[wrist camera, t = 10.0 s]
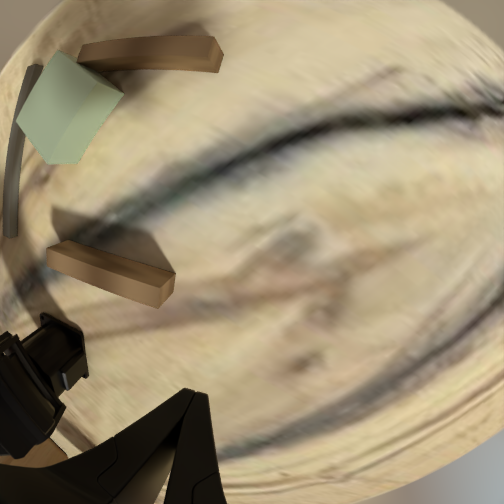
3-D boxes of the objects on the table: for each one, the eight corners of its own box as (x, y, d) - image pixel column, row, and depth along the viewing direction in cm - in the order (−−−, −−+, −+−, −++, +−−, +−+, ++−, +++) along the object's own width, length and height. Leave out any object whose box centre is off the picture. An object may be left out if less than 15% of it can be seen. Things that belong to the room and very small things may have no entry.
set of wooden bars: (10, 232, 22) (-9, 238, 19) (35, 68, 17) (16, 63, 14) (173, 292, 21) (157, 308, 18) (223, 54, 16) (214, 36, 13)
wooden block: (53, 454, 37) (15, 507, 18) (23, 423, 35) (-21, 474, 16) (71, 457, 35) (30, 519, 15) (37, 423, 33) (-13, 483, 14)
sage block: (44, 123, 19) (15, 120, 15) (84, 61, 17) (57, 49, 13) (79, 163, 19) (47, 164, 16) (126, 94, 18) (97, 82, 14)
